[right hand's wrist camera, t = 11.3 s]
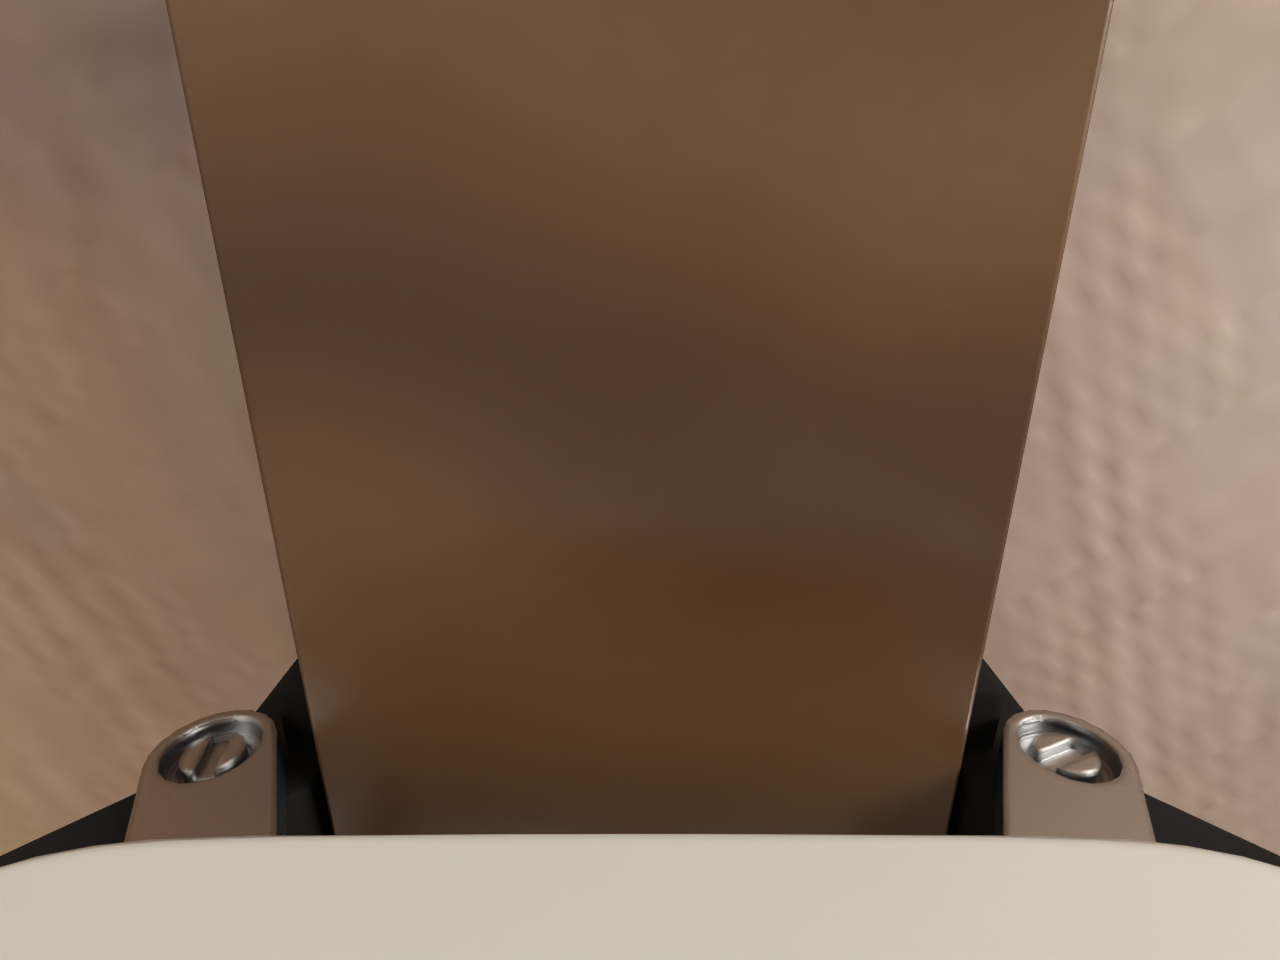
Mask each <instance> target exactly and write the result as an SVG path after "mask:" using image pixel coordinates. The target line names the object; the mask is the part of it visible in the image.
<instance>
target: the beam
mask: <svg viewBox="0 0 1280 960" xmlns="http://www.w3.org/2000/svg"><path fill="white" fill-rule="evenodd" d="M1113 2H1114V0H166V5H167V10H168V15H169V20H170V25H171V30H172V35H173V40H174V45H175V50H176V55H177V60H178V65H179V70H180V75H181V80H182V85H183V90H184V95H185V99H186V104H187V109H188V114H189V119H190V124H191V129H192V134H193V139H194V144H195V149H196V154H197V159H198V164H199V169H200V174H201V179H202V184H203V189H204V194H205V199H206V204H207V209H208V214H209V219H210V224H211V229H212V234H213V239H214V244H215V249H216V254H217V259H218V264H219V269H220V274H221V278H222V283H223V288H224V293H225V298H226V303H227V308H228V313H229V318H230V323H231V328H232V333H233V338H234V343H235V348H236V353H237V358H238V363H239V368H240V373H241V378H242V383H243V388H244V393H245V398H246V403H247V408H248V413H249V418H250V423H251V428H252V433H253V438H254V443H255V448H256V453H257V458H258V462H259V467H260V472H261V477H262V482H263V487H264V492H265V497H266V502H267V507H268V512H269V517H270V522H271V527H272V532H273V537H274V542H275V547H276V552H277V557H278V562H279V567H280V572H281V577H282V582H283V587H284V592H285V597H286V602H287V607H288V612H289V617H290V622H291V627H292V632H293V637H294V641H295V646H296V651H297V656H298V661H299V666H300V671H301V676H302V681H303V686H304V691H305V696H306V701H307V706H308V711H309V716H310V721H311V726H312V731H313V736H314V741H315V746H316V751H317V756H318V761H319V766H320V771H321V776H322V781H323V786H324V791H325V796H326V801H327V806H328V811H329V816H330V820H331V825H332V830H333V835H445V834H836V835H947V833H948V828H949V823H950V818H951V813H952V808H953V803H954V798H955V793H956V788H957V783H958V778H959V773H960V768H961V763H962V758H963V753H964V748H965V743H966V738H967V733H968V728H969V723H970V718H971V713H972V708H973V703H974V698H975V693H976V688H977V683H978V678H979V673H980V668H981V663H982V658H983V653H984V648H985V643H986V638H987V633H988V628H989V623H990V618H991V613H992V608H993V603H994V598H995V593H996V588H997V583H998V578H999V573H1000V568H1001V563H1002V558H1003V553H1004V548H1005V543H1006V538H1007V533H1008V528H1009V523H1010V518H1011V513H1012V508H1013V503H1014V498H1015V493H1016V488H1017V483H1018V478H1019V473H1020V468H1021V463H1022V458H1023V453H1024V448H1025V443H1026V438H1027V433H1028V428H1029V423H1030V418H1031V413H1032V408H1033V403H1034V398H1035V393H1036V388H1037V383H1038V378H1039V373H1040V368H1041V363H1042V358H1043V353H1044V348H1045V343H1046V338H1047V333H1048V328H1049V323H1050V318H1051V313H1052V308H1053V303H1054V298H1055V293H1056V288H1057V283H1058V278H1059V273H1060V268H1061V262H1062V257H1063V252H1064V247H1065V242H1066V237H1067V232H1068V227H1069V222H1070V217H1071V212H1072V207H1073V202H1074V197H1075V192H1076V187H1077V182H1078V177H1079V172H1080V167H1081V162H1082V157H1083V152H1084V147H1085V142H1086V137H1087V132H1088V127H1089V122H1090V117H1091V112H1092V107H1093V102H1094V97H1095V92H1096V87H1097V82H1098V77H1099V72H1100V67H1101V62H1102V57H1103V52H1104V47H1105V42H1106V37H1107V32H1108V27H1109V22H1110V17H1111V12H1112V7H1113Z"/></svg>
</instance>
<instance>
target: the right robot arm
mask: <svg viewBox="0 0 1280 960" xmlns="http://www.w3.org/2000/svg"><path fill="white" fill-rule="evenodd" d="M0 960H1280V856H1279V855H1276V854H1274V853H1272V852H1270V851H1268V850H1266V849H1263V848H1261V847H1259V846H1257V845H1255V844H1253V843H1250V842H1248V841H1246V840H1244V839H1242V838H1240V837H1238V836H1235V835H1233V834H1231V833H1229V832H1227V831H1225V830H1222V829H1220V828H1218V827H1216V826H1214V825H1212V824H1209V823H1207V822H1205V821H1203V820H1201V819H1199V818H1197V817H1194V816H1192V815H1190V814H1188V813H1186V812H1184V811H1181V810H1179V809H1177V808H1175V807H1173V806H1171V805H1169V804H1166V803H1164V802H1162V801H1160V800H1158V799H1156V798H1153V797H1151V796H1149V795H1147V794H1145V793H1144V792H1143V788H1142V784H1141V780H1140V776H1139V772H1138V768H1137V766H1136V764H1135V762H1134V760H1133V758H1132V756H1131V754H1130V753H1129V752H1128V751H1127V750H1126V749H1125V748H1124V747H1123V746H1122V745H1121V743H1120V742H1119V741H1117V740H1116V739H1114V738H1113V737H1112V736H1110V735H1109V734H1107V733H1106V732H1105V731H1103V730H1102V729H1100V728H1098V727H1096V726H1094V725H1092V724H1090V723H1088V722H1086V721H1084V720H1081V719H1078V718H1075V717H1072V716H1069V715H1066V714H1063V713H1057V712H1051V711H1046V710H1028V711H1024V710H1023V709H1022V708H1021V707H1020V705H1019V704H1018V703H1017V702H1016V700H1015V699H1014V698H1013V696H1012V695H1011V694H1010V693H1009V691H1008V690H1007V689H1006V687H1005V686H1004V685H1003V684H1002V682H1001V681H1000V680H999V678H998V677H997V676H996V675H995V673H994V672H993V671H992V670H991V668H990V667H989V666H988V664H987V663H986V662H985V661H984V659H983V658H982V663H981V668H980V673H979V678H978V683H977V688H976V693H975V698H974V703H973V708H972V713H971V718H970V723H969V728H968V733H967V738H966V743H965V748H964V753H963V758H962V763H961V768H960V773H959V778H958V783H957V788H956V793H955V798H954V803H953V808H952V813H951V818H950V823H949V828H948V833H947V835H836V834H445V835H333V830H332V825H331V820H330V816H329V811H328V806H327V801H326V796H325V791H324V786H323V781H322V776H321V771H320V766H319V761H318V756H317V751H316V746H315V741H314V736H313V731H312V726H311V721H310V716H309V711H308V706H307V701H306V696H305V691H304V686H303V681H302V676H301V671H300V666H299V661H298V659H297V660H296V661H295V662H294V664H293V665H292V666H291V667H290V669H289V670H288V671H287V673H286V674H285V675H284V676H283V678H282V679H281V680H280V682H279V683H278V684H277V685H276V687H275V688H274V689H273V691H272V692H271V693H270V694H269V696H268V697H267V698H266V700H265V701H264V702H263V703H262V705H261V706H260V707H259V709H258V710H257V711H252V710H234V711H229V712H223V713H217V714H214V715H211V716H208V717H205V718H202V719H199V720H196V721H194V722H192V723H190V724H188V725H186V726H184V727H182V728H180V729H178V730H177V731H175V732H174V733H173V734H171V735H170V736H168V737H167V738H166V739H164V740H163V741H161V742H160V743H159V745H158V746H157V747H156V748H155V749H154V750H153V751H152V752H151V753H150V754H149V756H148V758H147V760H146V762H145V764H144V766H143V768H142V772H141V776H140V780H139V784H138V788H137V792H136V794H133V795H131V796H129V797H127V798H125V799H123V800H120V801H118V802H116V803H114V804H112V805H110V806H107V807H105V808H103V809H101V810H99V811H97V812H95V813H92V814H90V815H88V816H86V817H84V818H82V819H79V820H77V821H75V822H73V823H71V824H69V825H66V826H64V827H62V828H60V829H58V830H56V831H54V832H51V833H49V834H47V835H45V836H43V837H41V838H38V839H36V840H34V841H32V842H30V843H28V844H25V845H23V846H21V847H19V848H17V849H15V850H13V851H10V852H8V853H6V854H4V855H2V856H0Z"/></svg>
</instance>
